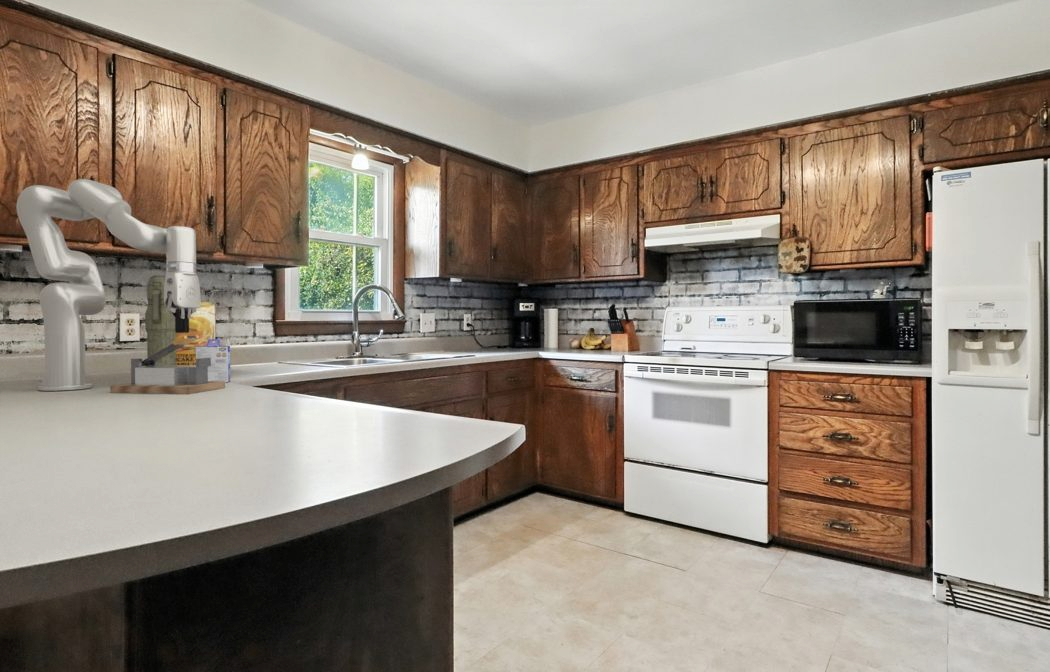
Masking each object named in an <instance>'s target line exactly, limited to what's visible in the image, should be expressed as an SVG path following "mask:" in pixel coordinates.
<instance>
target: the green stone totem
mask: <svg viewBox="0 0 1050 672" xmlns="http://www.w3.org/2000/svg"><path fill="white" fill-rule="evenodd" d="M165 277H166V275H152V276H150V277H149V279H148V282H147V284H146V292H147V293H146V294H147V295H146V298H147V299H146V300H147V304H146V307H147V308H146V310H145V313H144V316H145V317H144V321H145V322H144V325H145V331H146V341H147V343H146V344H147V345H146V348H147V350H146V351H147V352H146V353H147V354H146V357H147V358H148V357H150V356H152V355H154V354H155V353H157V352H159V351H161V350H162V349H164V348H166V347H168V346H169V345H171V344H173V342H174V341H175V340H176V332H175V319H174V317H173V314H172V313H170V312H168V311H167V307H166V306H165V304H164V284H165ZM147 358H146V359H147ZM159 365H177V362H176V350H175V351H173V352H171V353H170V354H168V355H166V356H165V357H163V358H161V359H159V360H158V366H159ZM145 367H148V366H145Z"/></svg>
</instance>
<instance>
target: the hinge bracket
mask: <svg viewBox="0 0 1050 672" xmlns="http://www.w3.org/2000/svg"><path fill="white" fill-rule="evenodd" d="M142 361H143V358H139V357H137V358H134V357H133V358H131V359H130V371H131V372H130V379H131V384H135V368H137V367H142ZM149 366H158V361H156V362H154V363H152V365H149Z"/></svg>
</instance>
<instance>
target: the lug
mask: <svg viewBox="0 0 1050 672" xmlns="http://www.w3.org/2000/svg"><path fill="white" fill-rule="evenodd" d="M208 366H211V358H198V359H196V367H188V374H189V385H198V384H205V383H208Z"/></svg>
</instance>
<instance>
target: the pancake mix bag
mask: <svg viewBox="0 0 1050 672" xmlns="http://www.w3.org/2000/svg"><path fill="white" fill-rule="evenodd" d="M212 302H213V301H208V300H201V306H200V308H196V312H195V313H192V314H191V318H190V319H189V333H176V340H177V339H179V338H180V337H182V336H188V335H198V336H199V338H198V339H197V340H195V341H193V342H191V343H190V344H185V345H184V346H182V347H180V348H178V349H177V350H176V362H177V365H196V347H197V346H207V342H208V339H216V332H217V319H216V318H217V317H216V316H217V307H216V304H214V303H213V304H212ZM179 311H180V310H179ZM209 343H216V341H210V342H209Z"/></svg>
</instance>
